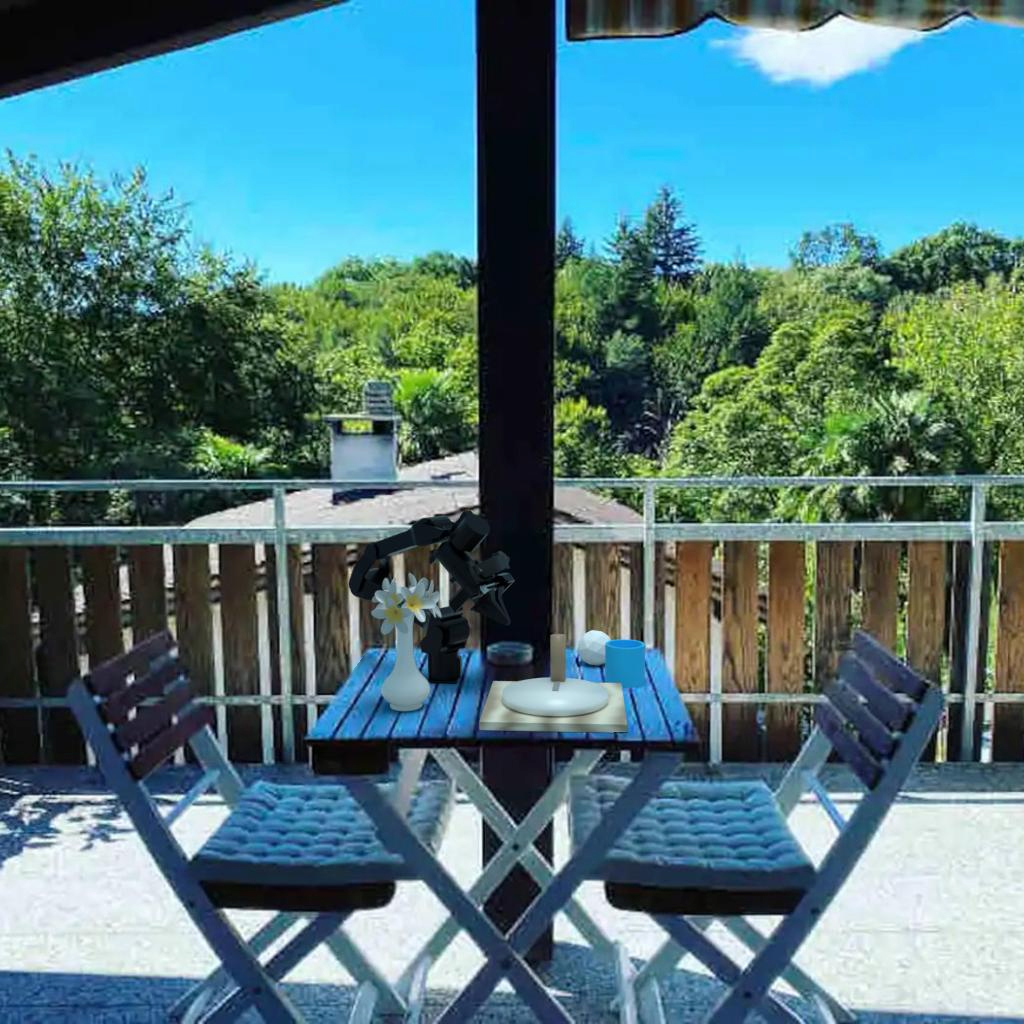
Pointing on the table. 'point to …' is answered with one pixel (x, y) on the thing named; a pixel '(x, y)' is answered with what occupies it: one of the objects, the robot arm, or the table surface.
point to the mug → (625, 662)
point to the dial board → (511, 720)
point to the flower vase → (405, 639)
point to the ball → (593, 647)
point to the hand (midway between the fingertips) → (508, 623)
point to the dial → (555, 690)
